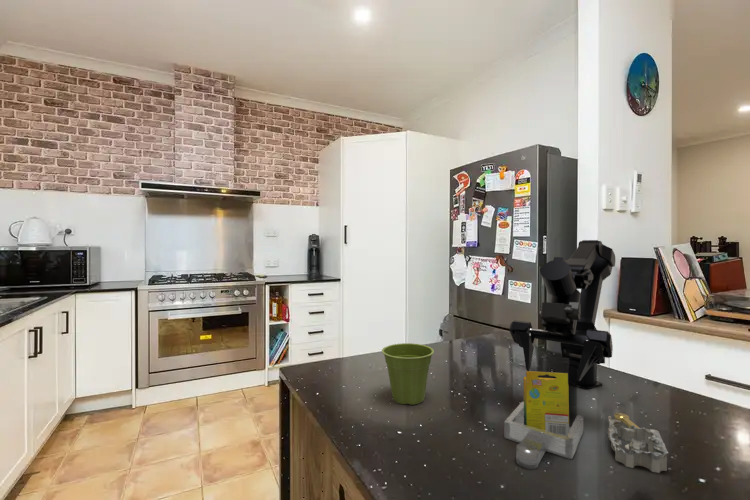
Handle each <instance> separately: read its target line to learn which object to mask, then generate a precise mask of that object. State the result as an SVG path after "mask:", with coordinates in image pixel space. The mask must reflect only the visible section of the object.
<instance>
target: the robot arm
mask: <svg viewBox="0 0 750 500" xmlns="http://www.w3.org/2000/svg"><path fill="white" fill-rule="evenodd" d="M615 266H616V254H615V252H614V249H613V248H611V247H609V246H607V245H605V244H603V242H602V241H601V240H598V239H583V240H580V241H579V242H578V247H577V248H576V249H575V250H574V252H573V253H572V255H571V256H570V257H569V259H565V257H564V256H560V257H559V256H553V260H550V261H547V262H546V263H545V264H543V265H542V266H541V267H540V269H539V270H540V271H539V273H540V276H541V278H542V282H543V284H544V286H545V289H546V291H547V294H549V295H551V297H550V301H549V302H548V301H546V302H545V301H542V302H541V306H540V307H541V310H540V319H542V321H541V327H544V329H540V328H539V329H537V328H533V326H532V323H531V322H530V321H524V320H523V321H522V320H513V321H512V322H511V323H510V325H509V328H508V331H509V333H510V335H511V338H512V340H513V342H514V343H515V344H516V345H518V346H519V347H520V348H522V351H523V357H524V364H525V370H526V371H530V369H531V367H532V361H533V356H534V350H535V349H534V348H535V347H534V342H535V339H536V340H543V341H550V342H556V343H560V348H561V349H560V350H561V358H562V359H563V358H564V359H568V365H567V373H568V384H571V385H573V386H576V387H579V388H581V389H583V390H589V389H592V388H593V389H594V388H597V387H602V386H603V382H601V381H597V379H598V378H597V376H598V373H597V368H598V365H601V364H605V363H606V359H607V358H608V359H609V358H612V357H613V351H614V350H613V339H612V334H611V333H610V332H609V331H608V330H599V329H597V327H596V325H595V324H596V319H597V315H598V314H597V313H598V309H599V303H600V298H601V293H602V287H603V281H605V280H606V279H607V278H608V277H610V276H611V275H612V270H613V267H614V268H615Z"/></svg>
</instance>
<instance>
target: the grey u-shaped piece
mask: <svg viewBox="0 0 750 500" xmlns="http://www.w3.org/2000/svg"><path fill="white" fill-rule="evenodd" d="M503 424H504V425H503V426H504V428H503V429H504V432H503V434H504V435H503V438H504V439H505V440H506V439H507V440H509V441H512V442H515V443H518V444H517V445H516V464H517V465H518V466H520V467H522V468H524V469H527V470H535V469H538V467H539V464H540V462H541V460H542V458H543V456H544V455H545V453H546V452H548V453H551V454H552V455H556V456H560V457H562V458H565V459H569V460H573V457H574V456H575V453H576V451H577V450H578V449H577V448H578V447H579V443H580V442H581V438H582V436H583V434H584V416H582V415H578V414H577V415H576V417H575V419H574V421H573V422H572V425H571V426H569V433H568V435H567V437H565V436H562V435H558V434H555V433H551V432H548V431H544V430H541V429H537V428H534V427H530V426H527V425H524V400H523V401H521V402H520V403H519V404H518V405H517V407H516V408H515V409H514V410H513V411H512V412H511V413H510V415H508V417H507V418H506V419H505V421H503Z"/></svg>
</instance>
